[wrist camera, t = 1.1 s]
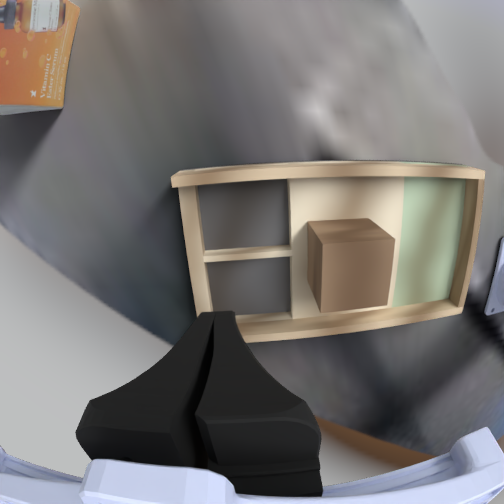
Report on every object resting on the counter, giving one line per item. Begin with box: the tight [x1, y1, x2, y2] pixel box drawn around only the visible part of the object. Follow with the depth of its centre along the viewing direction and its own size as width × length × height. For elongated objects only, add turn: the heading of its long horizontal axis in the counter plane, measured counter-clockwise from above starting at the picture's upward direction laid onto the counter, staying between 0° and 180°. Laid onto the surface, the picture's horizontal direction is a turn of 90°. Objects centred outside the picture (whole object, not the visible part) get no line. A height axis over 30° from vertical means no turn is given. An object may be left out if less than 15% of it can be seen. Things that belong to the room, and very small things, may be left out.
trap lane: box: [171, 160, 485, 343], centre depth 20 cm, size 20×11×3 cm, turn 94°
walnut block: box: [307, 218, 395, 313], centre depth 18 cm, size 4×4×4 cm
